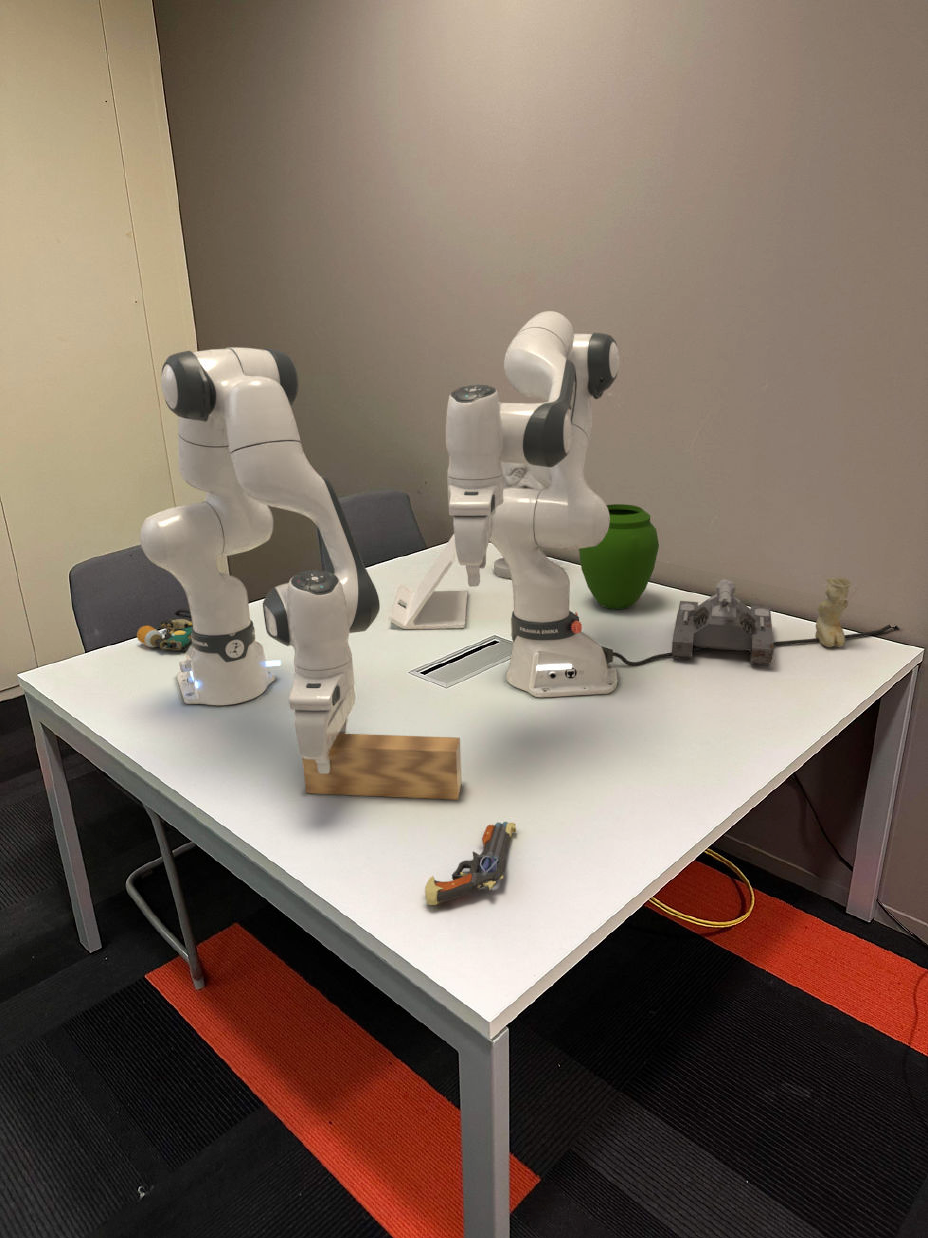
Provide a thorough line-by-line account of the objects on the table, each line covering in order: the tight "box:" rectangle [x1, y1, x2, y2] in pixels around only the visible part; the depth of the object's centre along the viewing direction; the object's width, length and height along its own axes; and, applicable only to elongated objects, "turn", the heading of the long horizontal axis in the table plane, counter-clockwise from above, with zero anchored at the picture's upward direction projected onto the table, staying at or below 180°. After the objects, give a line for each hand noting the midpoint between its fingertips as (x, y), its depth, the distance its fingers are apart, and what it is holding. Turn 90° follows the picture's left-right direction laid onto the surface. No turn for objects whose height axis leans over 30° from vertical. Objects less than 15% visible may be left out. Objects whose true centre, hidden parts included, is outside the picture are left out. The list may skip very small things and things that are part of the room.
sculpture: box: [814, 576, 852, 648], centre depth 185 cm, size 6×7×15 cm
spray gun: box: [136, 617, 193, 651], centre depth 200 cm, size 4×17×15 cm
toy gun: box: [424, 821, 517, 906], centre depth 117 cm, size 3×19×10 cm
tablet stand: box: [388, 533, 468, 630], centre depth 211 cm, size 18×25×17 cm
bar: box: [301, 733, 463, 801], centre depth 135 cm, size 24×4×9 cm, turn 83°
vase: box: [578, 503, 660, 610], centre depth 210 cm, size 20×20×24 cm
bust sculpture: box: [493, 463, 547, 579], centre depth 231 cm, size 16×24×35 cm
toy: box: [671, 578, 775, 666], centre depth 186 cm, size 25×20×15 cm
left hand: (333, 756), depth 136 cm, fingers open, 8 cm apart
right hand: (477, 575), depth 140 cm, fingers open, 8 cm apart
